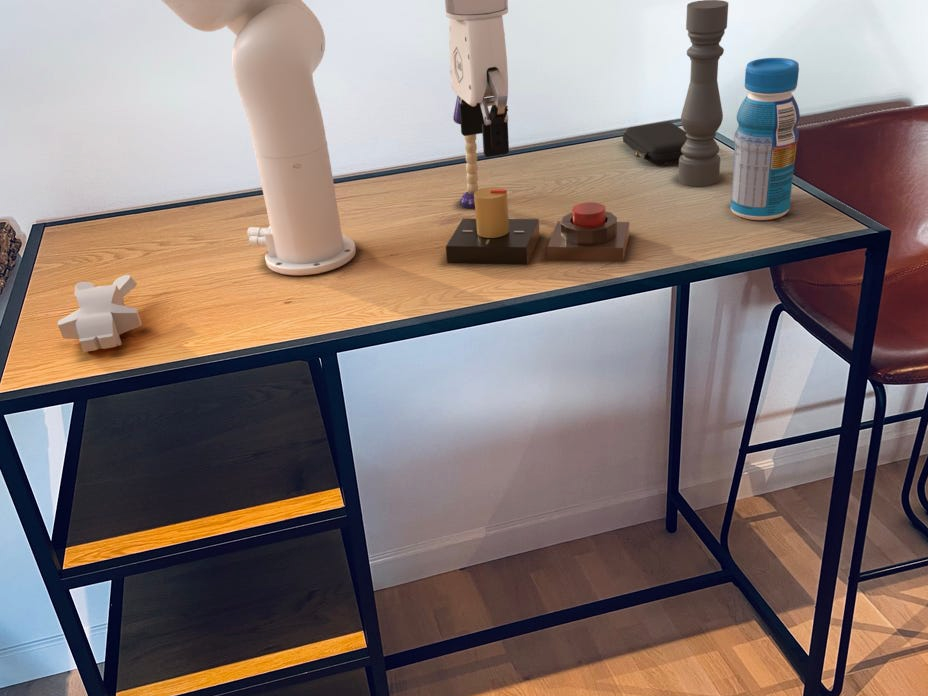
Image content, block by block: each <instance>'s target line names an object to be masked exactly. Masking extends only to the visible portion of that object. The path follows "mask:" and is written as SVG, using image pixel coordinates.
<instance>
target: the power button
mask: <svg viewBox="0 0 928 696" xmlns="http://www.w3.org/2000/svg"><path fill="white" fill-rule="evenodd" d="M605 211H606V206H605V205H604V204H603V203H600V202H594V201H593V202H590V201H588V202H581V203H577V204H575V205H574V206H572V209H571V213H572V223H573V225H576V226H580V227H595V226H600V225H602V224H604V223H605Z"/></svg>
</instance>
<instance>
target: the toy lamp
mask: <svg viewBox="0 0 928 696" xmlns="http://www.w3.org/2000/svg"><path fill="white" fill-rule="evenodd" d="M456 95H457V94H456ZM462 104H464V103H462ZM459 105H460V102H459V96H458V95H457V96H456V102H455V107H454V111H453V122H454V123H455V124H457V125H461V122H460V108H459ZM464 140H465V145H464V147H465V148H464V149H465V151H466V153H465V161H466V164H465V170H466V172H467V173H466V181H467V185H466V190H467V191H466V192H464V193H463V194H462V196H461V198H460V200H459V205H460V206H461V207H462V208H465V209H475V200H474V193H475V192H476V191H477V190H479V183H478V180H479V175H478V168H479V166H478V163H477V161H478V153H477V149H478V145H477V141H476V140H477V134H475V135H468V136H464Z"/></svg>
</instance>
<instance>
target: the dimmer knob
mask: <svg viewBox="0 0 928 696" xmlns="http://www.w3.org/2000/svg"><path fill="white" fill-rule="evenodd" d="M474 200H475V208H474V209H475V210H474V211H475V212H474V213H475V219H476V224H477V234H478V235H479V236H481V237H484V238H497V237H502V236H504V235H506V234H508V233H509V219H510V217H509V205H508V204H509V203H508V190H507V189H506V188H503V187H499V186H498V187H497V186H487V187H483V188H478V190H477V191H476V192H475V193H474Z"/></svg>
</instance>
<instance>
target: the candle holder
mask: <svg viewBox="0 0 928 696" xmlns="http://www.w3.org/2000/svg"><path fill="white" fill-rule="evenodd" d="M728 15H729V2H728V1H726V0H697V1H696V0H695V1H692V2H689V3H687V5H686V17H685V18H686V21H685V22H686V23H685V30H686V31H687V36H688V38H689V40H690V41H689V42H690V43H691V46H690V47H688V48H687V50H686V56H687V57H689V60H690V75H689V76H690V79H689V85H688V89H687V92H686V96H685V100H684V104H683V107H682V112H681V115H680V124H681V126H682V129H683V130H684V131H685V132H687V134H686V137H687V138H688V140H687V141H686V142H685V144H684V145H683V146H682V148H681V152H682V153H683V155H681V156H680V158H679V162H678V173H677V175H678V176H677V177H678V178H677V179H678V180H677V181H678V182H679V183H680V184H682V185H684V186H689V187H708V186H712V185H715V184H717V183H718V182H719V180H720V171H721V156H720V155H719V154H718V153H719V151H720V146H719V145H718V144H717V141H716V139H715V137H716V136H717V132H718V131H719V129H720V127H721V125H722V122H723V119H724V118H723V117H724V112H723V107H722V101H721V96H720V89H719V82H718V75H719V74H718V73H719V72H718V71H719V60H720V58H721V57H722V56H723V55H724V51H725V49H724V47H722V45H720V43H721V41H722V38H723V37H724V35H725V32H726V31H725V30H726V29H727V28H728V18H729V17H728Z"/></svg>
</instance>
